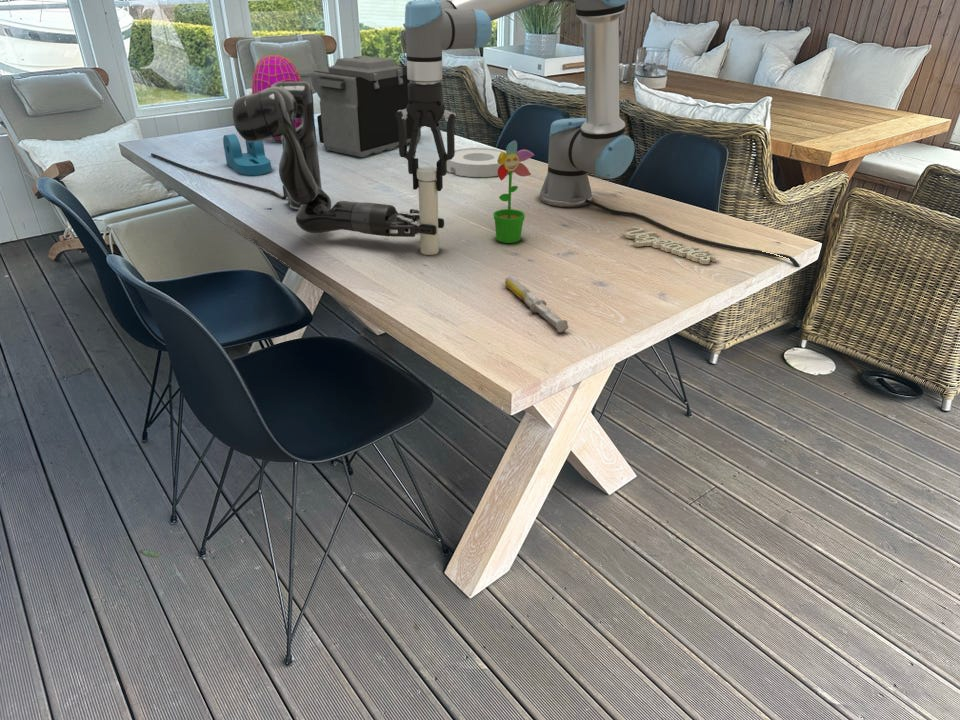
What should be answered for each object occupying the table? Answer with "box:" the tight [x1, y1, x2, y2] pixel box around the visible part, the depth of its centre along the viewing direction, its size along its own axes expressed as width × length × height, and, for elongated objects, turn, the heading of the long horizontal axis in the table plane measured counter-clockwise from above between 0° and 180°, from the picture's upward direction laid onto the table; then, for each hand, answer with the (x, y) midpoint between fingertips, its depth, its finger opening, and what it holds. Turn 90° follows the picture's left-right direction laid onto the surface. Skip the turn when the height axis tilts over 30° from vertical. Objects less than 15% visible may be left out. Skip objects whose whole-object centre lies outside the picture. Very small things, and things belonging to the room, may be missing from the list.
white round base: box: [446, 146, 509, 178], centre depth 232 cm, size 23×23×4 cm
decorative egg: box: [251, 54, 303, 142], centre depth 257 cm, size 19×19×30 cm
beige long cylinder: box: [417, 179, 440, 256], centre depth 162 cm, size 4×4×19 cm
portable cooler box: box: [310, 55, 422, 159], centre depth 250 cm, size 37×22×30 cm, turn 144°
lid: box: [416, 165, 437, 181], centre depth 157 cm, size 5×5×2 cm
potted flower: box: [493, 139, 535, 244], centre depth 168 cm, size 9×8×25 cm
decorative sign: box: [624, 226, 717, 265], centre depth 170 cm, size 26×1×10 cm
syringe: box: [504, 275, 569, 334], centre depth 140 cm, size 25×4×3 cm, turn 21°
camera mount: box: [222, 133, 272, 176], centre depth 226 cm, size 18×10×10 cm, turn 35°
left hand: (439, 226), depth 163 cm, fingers closed on beige long cylinder, 4 cm apart
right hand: (428, 188), depth 159 cm, fingers closed on lid, 5 cm apart
